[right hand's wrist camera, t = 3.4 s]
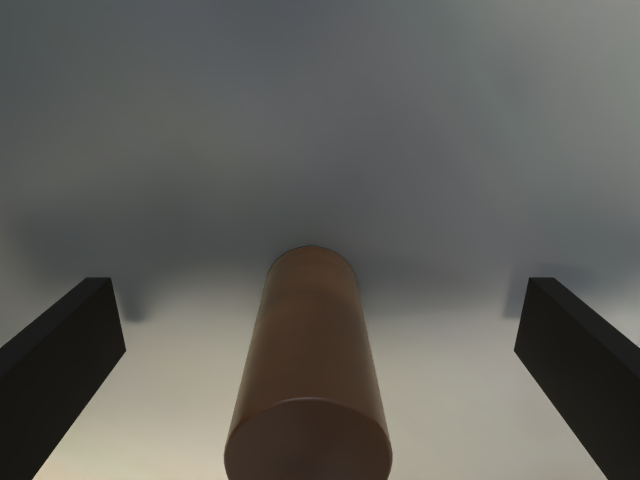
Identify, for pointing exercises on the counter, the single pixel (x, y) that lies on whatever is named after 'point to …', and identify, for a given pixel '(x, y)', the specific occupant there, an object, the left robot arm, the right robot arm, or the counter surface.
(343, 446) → the peg
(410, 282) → the counter surface
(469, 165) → the counter surface
